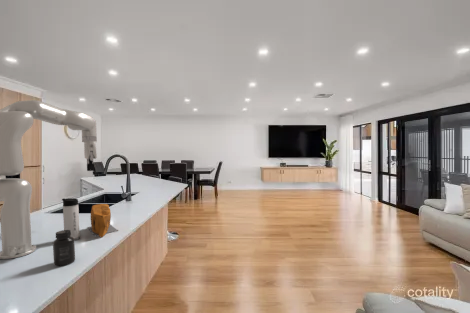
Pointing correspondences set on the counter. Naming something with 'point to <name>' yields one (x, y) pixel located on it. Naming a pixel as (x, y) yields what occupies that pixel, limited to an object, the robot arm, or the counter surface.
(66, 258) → the supplement bottle
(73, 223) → the travel mug
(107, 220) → the coffee package
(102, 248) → the counter surface
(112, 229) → the mat
